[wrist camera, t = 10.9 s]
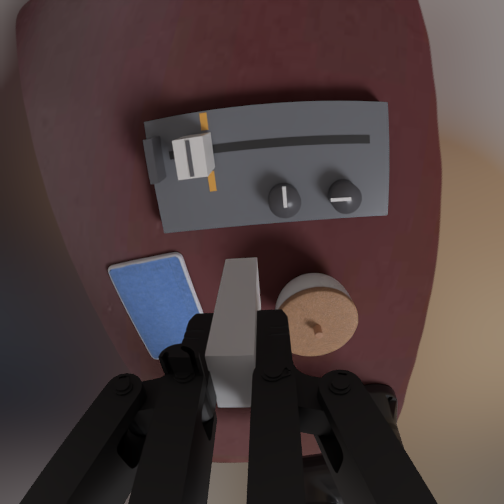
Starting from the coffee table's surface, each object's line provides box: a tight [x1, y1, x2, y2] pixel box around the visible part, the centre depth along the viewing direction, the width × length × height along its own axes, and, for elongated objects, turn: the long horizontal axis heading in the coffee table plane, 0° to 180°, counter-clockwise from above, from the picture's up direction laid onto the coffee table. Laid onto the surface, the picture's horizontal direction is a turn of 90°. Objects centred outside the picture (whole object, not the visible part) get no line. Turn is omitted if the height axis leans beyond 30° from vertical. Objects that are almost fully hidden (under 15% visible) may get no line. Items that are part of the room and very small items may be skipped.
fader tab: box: [172, 132, 215, 180], centre depth 30 cm, size 4×3×5 cm
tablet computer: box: [108, 252, 203, 359], centre depth 46 cm, size 19×13×1 cm, turn 13°
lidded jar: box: [275, 273, 358, 356], centre depth 40 cm, size 11×11×9 cm
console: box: [143, 101, 389, 233], centre depth 33 cm, size 14×28×5 cm, turn 96°
